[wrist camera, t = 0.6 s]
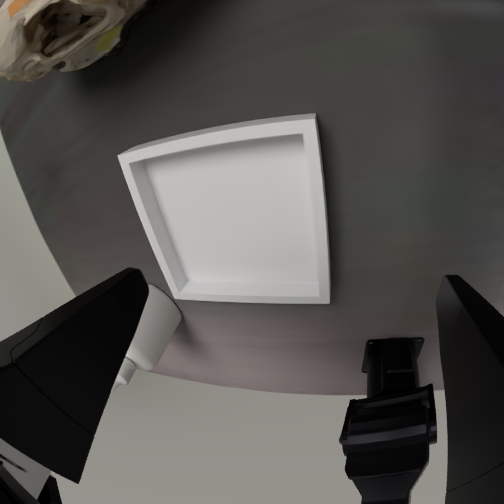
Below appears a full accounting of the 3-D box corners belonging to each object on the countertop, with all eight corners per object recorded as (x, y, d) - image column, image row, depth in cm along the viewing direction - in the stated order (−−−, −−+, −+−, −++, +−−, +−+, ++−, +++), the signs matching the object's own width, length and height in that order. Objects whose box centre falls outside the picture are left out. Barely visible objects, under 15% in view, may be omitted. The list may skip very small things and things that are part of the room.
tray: (330, 283, 24) (329, 303, 22) (184, 282, 28) (174, 298, 27) (316, 113, 17) (314, 118, 15) (135, 145, 21) (117, 155, 19)
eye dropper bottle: (153, 315, 33) (106, 396, 24) (138, 280, 30) (79, 365, 21) (185, 321, 32) (140, 410, 23) (172, 285, 29) (114, 380, 20)
